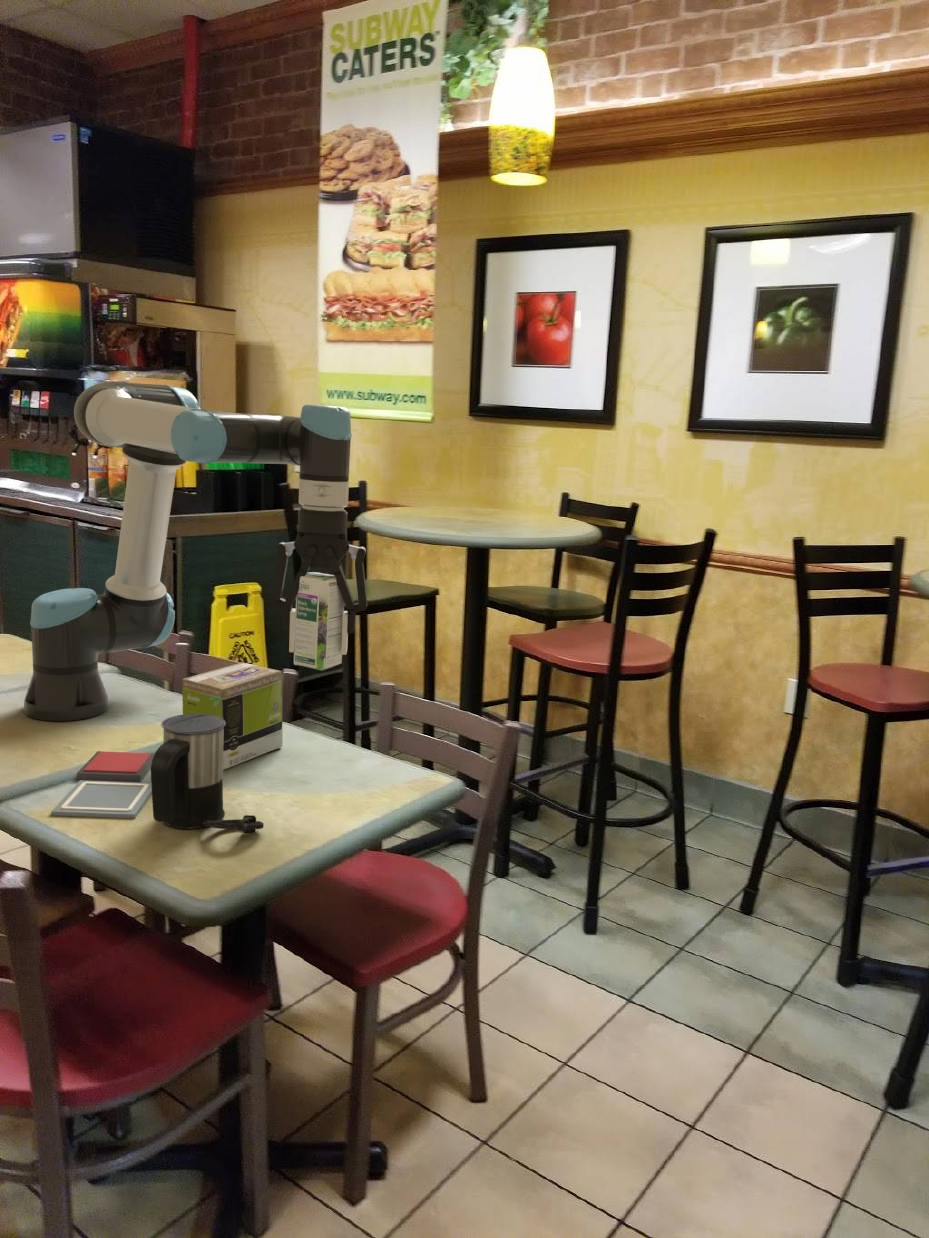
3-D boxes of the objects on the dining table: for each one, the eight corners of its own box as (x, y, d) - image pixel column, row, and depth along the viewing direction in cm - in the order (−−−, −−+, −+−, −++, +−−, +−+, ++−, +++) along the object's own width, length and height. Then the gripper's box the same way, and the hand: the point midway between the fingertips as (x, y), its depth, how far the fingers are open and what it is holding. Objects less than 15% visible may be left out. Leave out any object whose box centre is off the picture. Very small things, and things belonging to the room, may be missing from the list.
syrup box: (292, 664, 147) (294, 574, 144) (314, 657, 152) (317, 570, 149) (321, 671, 144) (324, 579, 141) (343, 663, 149) (346, 575, 146)
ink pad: (97, 757, 158) (97, 749, 158) (157, 760, 159) (157, 751, 159) (76, 779, 149) (76, 771, 148) (140, 782, 149) (140, 773, 149)
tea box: (242, 736, 174) (243, 660, 171) (283, 748, 169) (285, 670, 166) (180, 758, 161) (180, 676, 158) (222, 772, 156) (223, 687, 153)
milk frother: (169, 803, 142) (169, 711, 139) (273, 806, 143) (275, 715, 140) (143, 844, 128) (142, 743, 125) (258, 848, 130) (260, 748, 126)
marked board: (80, 783, 147) (79, 779, 147) (156, 786, 148) (156, 782, 148) (51, 815, 135) (51, 810, 135) (134, 818, 136) (134, 813, 136)
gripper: (252, 506, 138) (249, 654, 143) (388, 514, 140) (381, 660, 145) (260, 501, 146) (257, 642, 150) (389, 509, 147) (383, 648, 152)
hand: (318, 651), depth 147 cm, fingers closed on syrup box, 7 cm apart
